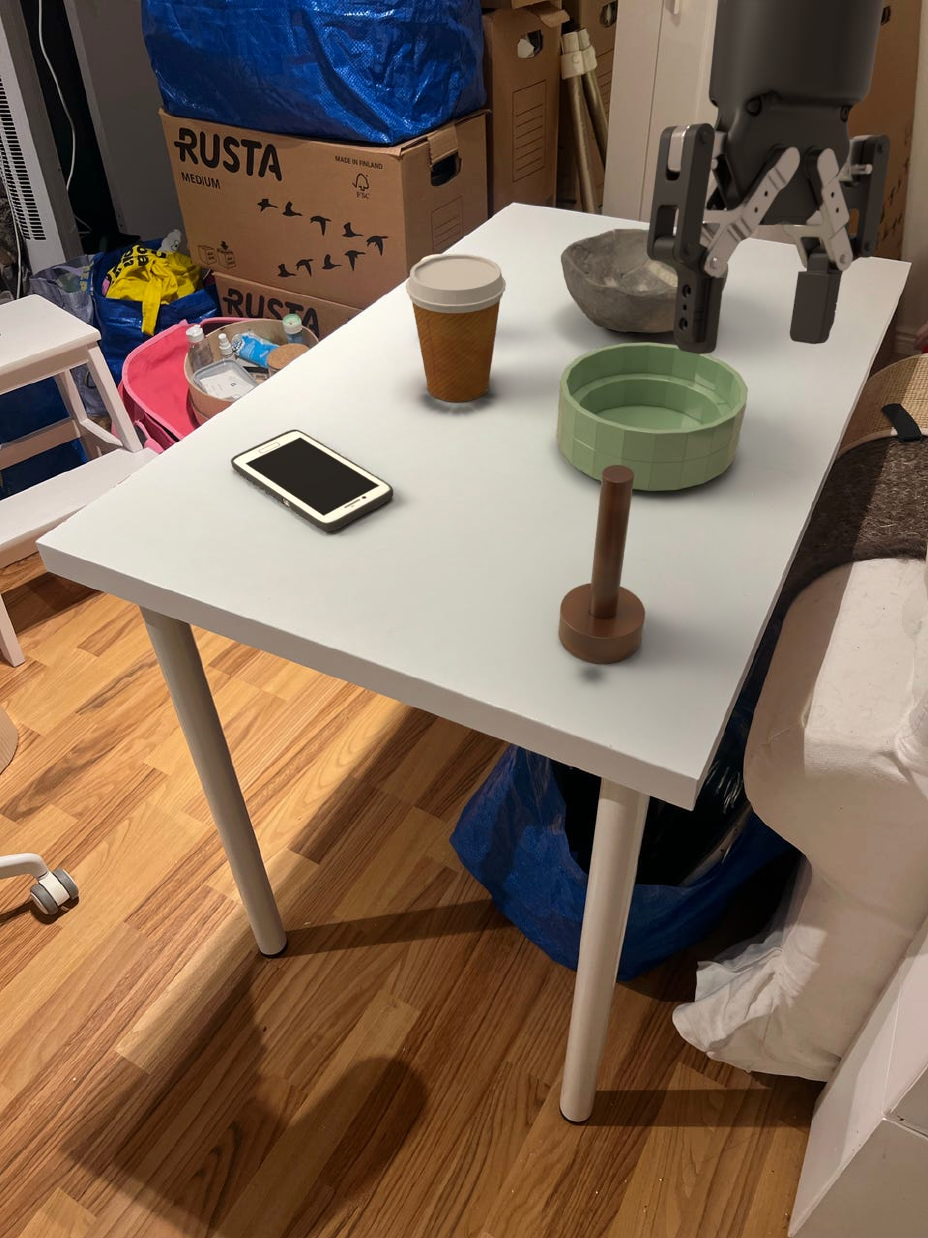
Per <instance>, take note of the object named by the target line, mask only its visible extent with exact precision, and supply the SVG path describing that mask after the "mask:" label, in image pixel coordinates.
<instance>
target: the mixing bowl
mask: <svg viewBox="0 0 928 1238" xmlns="http://www.w3.org/2000/svg"><path fill="white" fill-rule="evenodd" d="M558 388H559V391H558V406H557V407H558V408H557V409H558V410H557V424H556V439H557V445H558V448H559V451H560V453H561V454H562V455H563V456H564V458H565V459H566V460H567V461H568V463H569V464H570V465H571V466H573V468H576V469H577V470H579V471H580V472H582V473H584V474H585V475H587V476H589V477H590V478H592V479H594V480H597V481H599V482H601V480H602V472H603V470H604V469H605V468H606V467H608V466H612V465H622V466H626V467H628V468H630V469H631V470H632V471H633V472H634V482H633V490H637V491H647V492H648V491H649V492H654V491H678V490H682V489H686V488H691V487H696V486H698V485H703V484H706V483H708V482H709V481H711V480H713V479H714V478H717V477H718V476H720V475H722V474H723V473H725V472H726V470H727V469H728V467H730V465H731V464H732V463H733V461H734V460H735V459H736V453H737V449H738V444H739V440H740V435H741V431H742V425H743V422H744V416H745V411H746V407H747V401H748V391H749V388H748V386H747V384H746V383H745V380H744V379H743V377H742V375H741V374H740V372H738V371H737V370H735V369H734V368H733V367H732V366H731V365H729V364H728V363H726V362H725V361H724V360H722V359H720V358H717V357H715V356H712V355H710V354H709V353H707V354H695V353H690V352H684V351H681V350H680V349H679V348H678V346H677V344H668V343H658V342H627V343H625V342H624V343H619V344H612V345H608V346H603V347H599V348H596V349H594V350H591V351H589V352H586V353H583V354H581V355H578V357H576V358H575V359H574V360H573V361H572V362H570V363H569V364H568V365H567V366H566V367H564V370H563V372H562V374H561V377H560V379H559V387H558Z"/></svg>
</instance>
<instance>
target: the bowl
mask: <svg viewBox="0 0 928 1238" xmlns="http://www.w3.org/2000/svg"><path fill="white" fill-rule="evenodd" d="M648 233H649V229H643V228H613V229H611V230H608V231H605V232H602V233H600V234H598V235H593V236H589V237H585V238H583V239H578V240H576V241H574V242H572V243H571V244H569V245H568V246H567V247H566V248H565V249H564V250H563V252H562V253H561V255H560V263H561V267H562V273H563V278H564V282H565V284H566V288H567V291H568V292H569V294H570V296H571V298H572V299H573V301H574V302H575V304H577V306H578V308H579V309H580V311H581V312H582V313H583V314H584V316H586V318H587V319H589V321H590V322H592V323H593V324H595V325H596V326H598V327H602V328H606V329H609V330H611V331H617V332H622V333H623V332H624V333H627V332H636V333H637V332H638V333H648V334H655V333H666V332H672V331H673V326H674V319H675V317H674V316H675V311H676V309H675V305H676V294H677V284H678V277H677V273H676V271H675V270H674V268H672V267H671V266H669V265H667V264H665V263H663V262H661V261H654V260H651V259H650V258H649V257H648V255H647V241H648ZM673 235H676V232H673ZM728 275H729V263H728V262H727V263H726V265H725V267H724V268H723V270H722V271H721V273H720V274H719V275H717V276H716V277H720V278H724V282H723V291H722V293H723V292H724V289H725V287H726V283H727V279H728Z"/></svg>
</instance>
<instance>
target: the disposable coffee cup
mask: <svg viewBox="0 0 928 1238" xmlns="http://www.w3.org/2000/svg"><path fill="white" fill-rule="evenodd" d="M506 287H507V282H506V279H505V278H504V277H503V274H502V269H501V267H500V266H499V264H498V263H496V262H494V261H493V260H492V259H489V258H486V257H484V256H479V255H474V254H465V253H462V254H461V253H450V254H445V255H440V256H436V257H432V258H428V259H425V260H423V261H421V260H420V261H419V262H417V263H416V264H414V265H413V266H412V267H411V269H410V272H409V277H408V280H407V281H406V283H405V290H406V294H407V295H408V297H409V300H410V301H411V303H412V309H413V314H414V315H413V316H414V320H415V325H416V330H417V336H418V340H419V341H418V342H419V348H420V353H421V357H422V364H423V370H424V375H425V380H426V386H427V390H428V392H429V394H430V395H432V397H434V398H436V399H439V400H442V401H446V402H452V403H453V402H456V403H458V402H469V401H472V400H476V399H478V398H481V397H483V396H484V395H486V393H487V392H488V390H489V387H490V378H491V371H492V363H493V355H494V347H495V341H496V335H497V334H496V333H497V326H498V319H499V312H500V304H501V299H502V297H503V295H504V292H505V291H506Z"/></svg>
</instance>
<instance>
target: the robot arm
mask: <svg viewBox="0 0 928 1238" xmlns="http://www.w3.org/2000/svg"><path fill="white" fill-rule="evenodd" d="M884 4H885V0H717V6H716V16H715V26H714V33H713V34H714V36H713V44H712V55H711V65H710V74H709V75H710V76H709V83H708V84H709V85H708V99H709V101H710V104H711V105H712V106H713V107H715V108H717V116H716V120H715V123H714V126H713V125H712V124H710V123H709V122H702V123H692V124H682V125H672V126H666V127H665V128H664V129H663V130H662V132H661V133H660V138H659V144H658V153H657V162H656V169H655V175H654V176H655V178H654V184H653V185H654V186H653V193H652V194H653V195H652V200H651V201H652V202H651V209H650V218H649V224H648V225H649V226H648V230H649V233H648V241H647V255H648V257H649V258H650V259H651V260H654V261H661V262H663V263H665V264H667V265H669V266H671V267H672V268H674V270H675V271H676V273H677V277H678V284H677V294H676V305H675V309H676V311H675V316H674V317H675V319H674V326H673V330H672V332H673V336H674V340H675V341H676V345H677V346H678V348H679V349H680V350H681V351H684V352H690V353H695V354H712V353H713V352H715V350H716V348H717V343H718V334H719V327H720V326H719V325H720V317H721V316H720V315H721V307H722V300H723V299H722V298H723V292H724V290H723V282H724V278H720V277H716V276H717V275H719V274H720V273H721V271H722V270H723V268H724V267H725V265H726V263H728V262H729V260H730V259H731V257H732V256H733V255H734V252H735V251H736V249H737V247H738V246H739V244H740V243H741V242H743V241H745V240H747V239H749V238H750V237H751V236H752V235H753V234H754V232H755V231H756V229H757V228H758V226H775V225H776V226H778V225H781V228H782V230H783V232H784V234H786V236H788V237H789V238H791V239H792V240H793V241H794V244H795V247H796V250H797V253H798V256H799V258H800V261H801V264H802V266H803V267H804V269H806V270H802V271H799V270H798V272H797V279H796V286H795V292H794V293H795V294H794V298H793V299H794V300H793V307H792V314H791V320H790V327H789V337H790V339H791V340H792V341H793V342H797V343H804V344H810V345H817V344H824V343H826V342H828V340H829V338H830V333H831V331H832V328H833V326H834V323H835V318H836V311H837V306H838V305H837V303H838V300H839V292H840V289H841V288H840V287H841V281H842V276H843V273H844V272H845V271H846V270H848V269H849V268H850V267H851V265H852V263H853V262H855V261H856V260H858V259H860V258H864V259H867V258H868V259H869V258H870V257H872V256H873V255H874V253H876V249H877V247H878V246H877V245H878V238H879V230H880V225H881V224H880V223H881V216H882V210H883V203H884V194H885V187H886V182H887V181H886V180H887V173H888V166H889V158H890V150H891V140H890V137H889V136H888V135H887V134H877V135H875V134H866V135H856V136H850V135H849V127H848V126H849V125H848V123H849V115H850V112H851V110H852V108H853V107H854V106H855V105H858V104H860V103H862V102H863V101H864V100H866V98H867V96H869V93H870V90H871V85H872V78H873V73H874V66H875V61H876V60H875V59H876V53H877V48H878V42H879V36H880V35H879V34H880V30H881V29H880V28H881V24H882V23H881V21H882V17H883V12H884ZM711 172H712V175H713V177H714V179H712V182H711V184H709V182H710V175H711ZM818 209H819V210H818ZM853 209H856V210H857V211H858V218H857V227H856V233H851V232H850V233H849V229H850V222H851V215H852V211H853ZM677 211H678V213H677ZM676 216H677V220H676ZM675 223H676V227H675ZM675 228H676V229H675ZM674 230H675V231H674ZM674 232H675V234H676V235H673V233H674ZM821 241H822V242H821ZM722 291H723V292H722Z"/></svg>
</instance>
